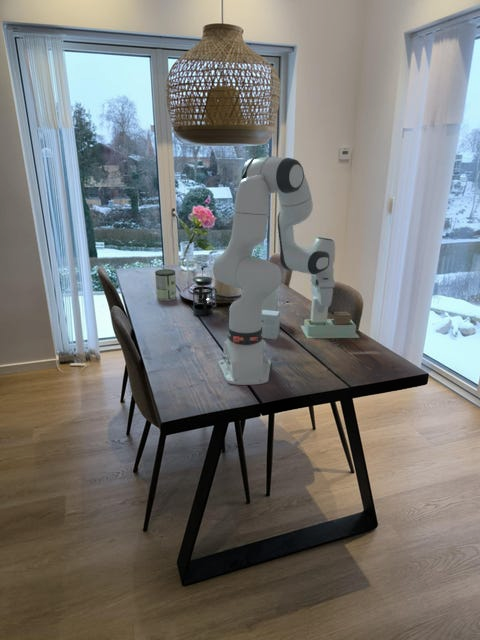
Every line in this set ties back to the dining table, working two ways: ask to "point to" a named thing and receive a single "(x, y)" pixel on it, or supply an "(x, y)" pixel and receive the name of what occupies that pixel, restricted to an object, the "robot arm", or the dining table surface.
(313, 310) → the plug block
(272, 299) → the milk bottle
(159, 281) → the coffee can
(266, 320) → the small box
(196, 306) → the french press
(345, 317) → the walnut block
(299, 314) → the dining table surface
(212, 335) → the dining table surface
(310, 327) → the dock
